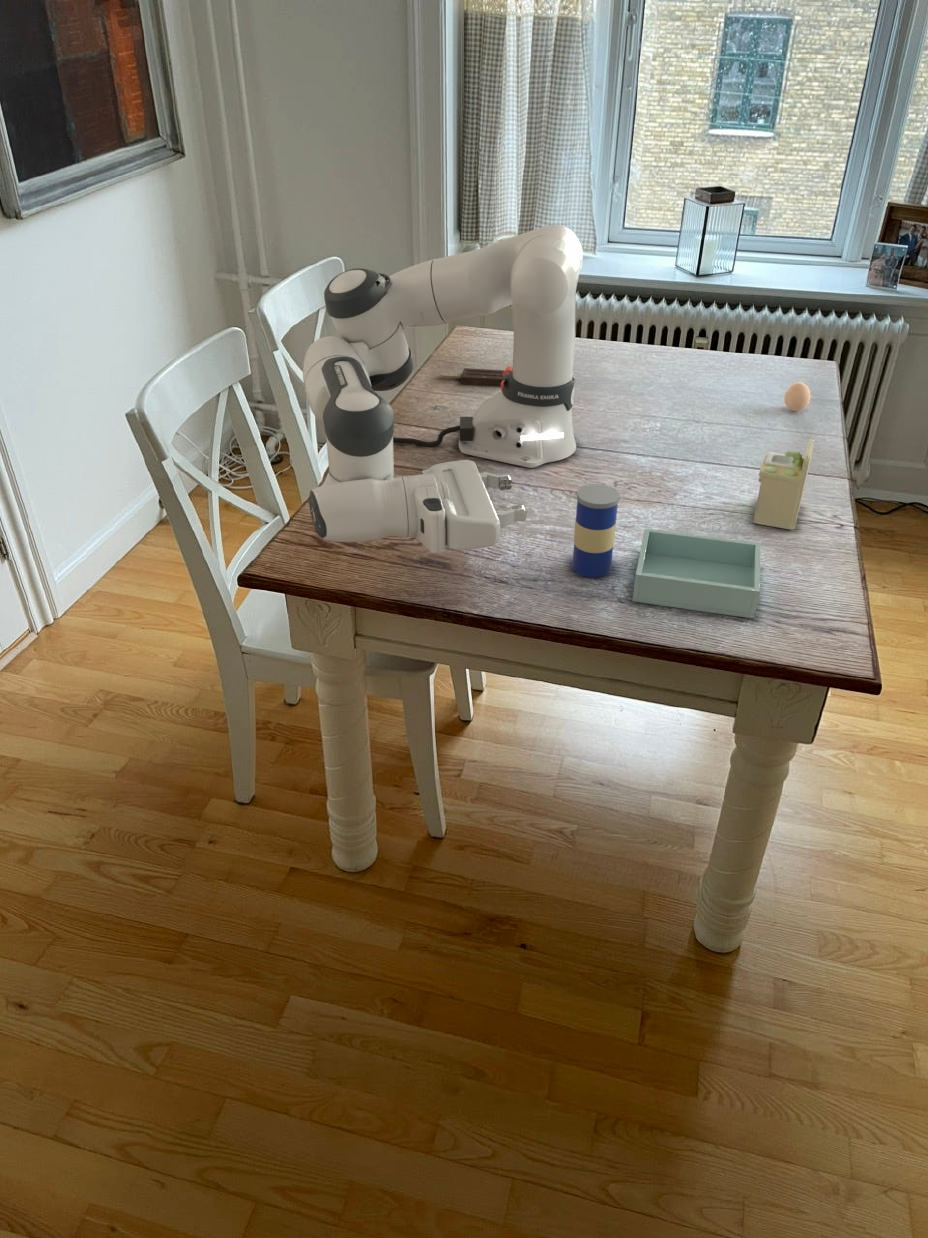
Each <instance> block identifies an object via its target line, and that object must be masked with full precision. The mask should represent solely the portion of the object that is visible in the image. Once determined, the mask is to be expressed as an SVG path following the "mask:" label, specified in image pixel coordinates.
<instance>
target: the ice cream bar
mask: <svg viewBox="0 0 928 1238" xmlns="http://www.w3.org/2000/svg"><path fill="white" fill-rule="evenodd" d="M504 371H505V369H489V368H488V369H487V368H485V369H484V368H471V367H469V368H467V367H465V368H464V369H463V370H462V373H460V372H459V373H457V372H440V378H445V379H447V378H448V379H460V384H461V385H472V386H473V385H474V386H491V387H501V383H502V377H503V372H504Z"/></svg>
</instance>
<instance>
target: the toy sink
mask: <svg viewBox="0 0 928 1238" xmlns="http://www.w3.org/2000/svg"><path fill="white" fill-rule="evenodd" d="M815 441H816V440H815V439H809V440H808V443H807V448H806V451H805V455H804V456H803V455H802V454H801V453H800V451H799V452H798V451H792V450H787V451H786V452H785V454H784V453H779V452H778V453H777V452H772V451H767V452H766V453H765V455H764V458H763V461H762V463H761V466H760V468H759V472H758V476H759V478H758V483H760V485H759V490H758V496H757V500H756V505H755V510H754V516H753V524H757V525H763V526H767V527H773V528H774V527H775V528H778V529H779V528H780V529H785V530H789V531H790V530H791V531H793V530H795V528H796V524H797V519H798V516H799V512H800V508H801V503H802V500H803V496H804V491H805V486H806V481H807V477H808V473H809V469H810V464H811V460H812V455H813V452H814V447H815Z"/></svg>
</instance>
